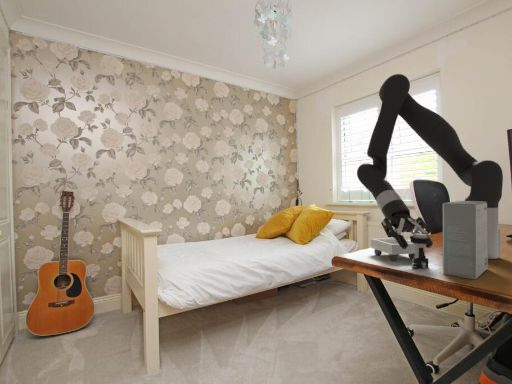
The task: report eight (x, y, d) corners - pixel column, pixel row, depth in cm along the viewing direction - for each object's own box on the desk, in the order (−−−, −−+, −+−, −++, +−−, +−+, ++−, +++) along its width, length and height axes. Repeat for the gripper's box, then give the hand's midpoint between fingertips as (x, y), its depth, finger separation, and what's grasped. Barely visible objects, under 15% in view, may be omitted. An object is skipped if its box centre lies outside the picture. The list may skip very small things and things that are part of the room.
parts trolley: (397, 252, 103) (397, 237, 103) (420, 260, 92) (421, 243, 92) (370, 254, 100) (370, 238, 100) (391, 262, 90) (392, 244, 89)
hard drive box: (456, 263, 88) (457, 200, 87) (488, 269, 82) (488, 201, 82) (441, 273, 77) (442, 202, 77) (476, 280, 72) (476, 203, 71)
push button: (420, 271, 80) (420, 236, 79) (402, 266, 84) (403, 233, 84) (433, 268, 83) (434, 234, 83) (416, 264, 87) (416, 232, 87)
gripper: (378, 198, 90) (404, 240, 79) (416, 198, 93) (445, 238, 82) (368, 213, 96) (391, 254, 84) (404, 213, 99) (430, 252, 87)
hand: (418, 246), depth 83 cm, fingers open, 8 cm apart
